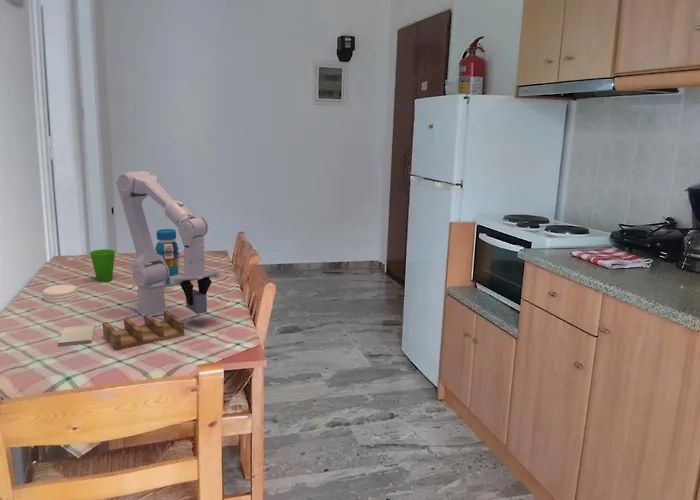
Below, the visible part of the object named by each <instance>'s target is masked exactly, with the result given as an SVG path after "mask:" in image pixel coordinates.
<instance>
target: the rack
mask: <svg viewBox="0 0 700 500" xmlns="http://www.w3.org/2000/svg"><path fill="white" fill-rule="evenodd" d="M168 310H169V309H167V311H164V314H163V320H162V321H158V320H156V319H155V318H154V316H152V317H151V316H150V315H149V314H146V315H144V316H143V317H144V318H143V320H144V324H142V325H137V324H135V322H134V321H132V319H130V318H129V317H126V318H123V325H124V327H123V328H121V329H117V330H116V329H115V328H114V327H113V326H112V325H111V324H110V323H109V322H108V321H105V322H102V333H103V334H102V336H103V338H105V340H106V342H108V343H109V344H110V345H111V346H112V348H114V349H115V350H116V351H120V350H123V348H124V349H128V348H127V347H129V348H132V346H134V347H137V346H136V345H138V346H142V345H141V344H143V345H146V343H147V344H150V342H152V343H155V342H154V341H156V342H160V341H159V340H161V341H164V340H163V339H165V340H169V338H170V339H173V338H174V339H175V338H178V337H183V336H185V326H184V322H185V321H183V320H181V319H180V318H178V316H176V315H175V314H173V313H172V312H171V311H170V310H169V311H170V312H169V311H168ZM119 349H120V350H119Z"/></svg>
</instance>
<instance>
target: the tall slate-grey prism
mask: <svg viewBox="0 0 700 500" xmlns="http://www.w3.org/2000/svg"><path fill="white" fill-rule="evenodd" d="M207 301H208V299H207V294H206V295H204V294H202V293H201V292H199V290H197V289H194V288H193V305H192V306H190V305H188V303H187V299H186V298H185V305H186V308H187V309H189V310H190V311H191V312H193V313H195V314H196V315H200V314H205V313H207V312H208V306H207V305H208V304H207Z"/></svg>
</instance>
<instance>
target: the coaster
mask: <svg viewBox="0 0 700 500" xmlns="http://www.w3.org/2000/svg"><path fill="white" fill-rule="evenodd" d="M42 295H43V296H42V297H43V302H47V303H64V302H69V301H72V300H74V299H77V295H78V294H77V287H76V286H74V285H72V284H60V285H59V284H58V285H53V286H52V285H51V286H48V287H46V288H44V289H43V290H42Z"/></svg>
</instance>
